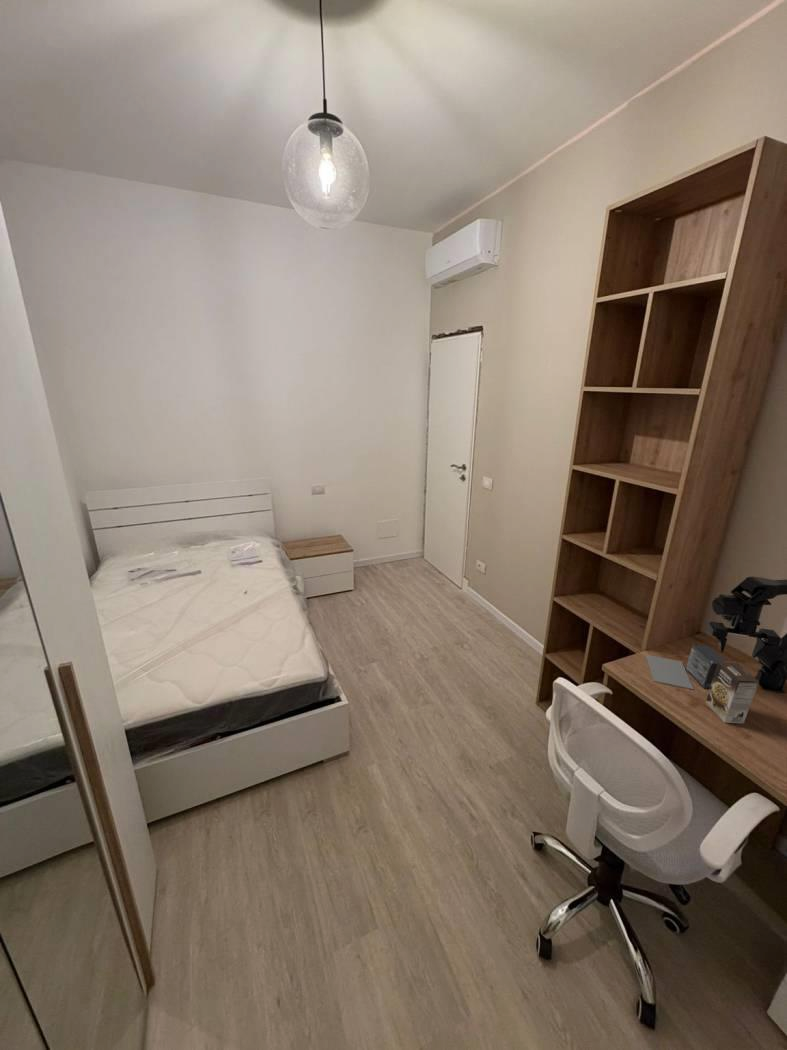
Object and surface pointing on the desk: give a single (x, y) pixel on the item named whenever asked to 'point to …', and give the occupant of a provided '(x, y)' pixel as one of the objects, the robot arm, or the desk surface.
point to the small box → (703, 664)
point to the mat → (669, 672)
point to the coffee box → (731, 692)
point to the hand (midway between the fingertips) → (736, 654)
